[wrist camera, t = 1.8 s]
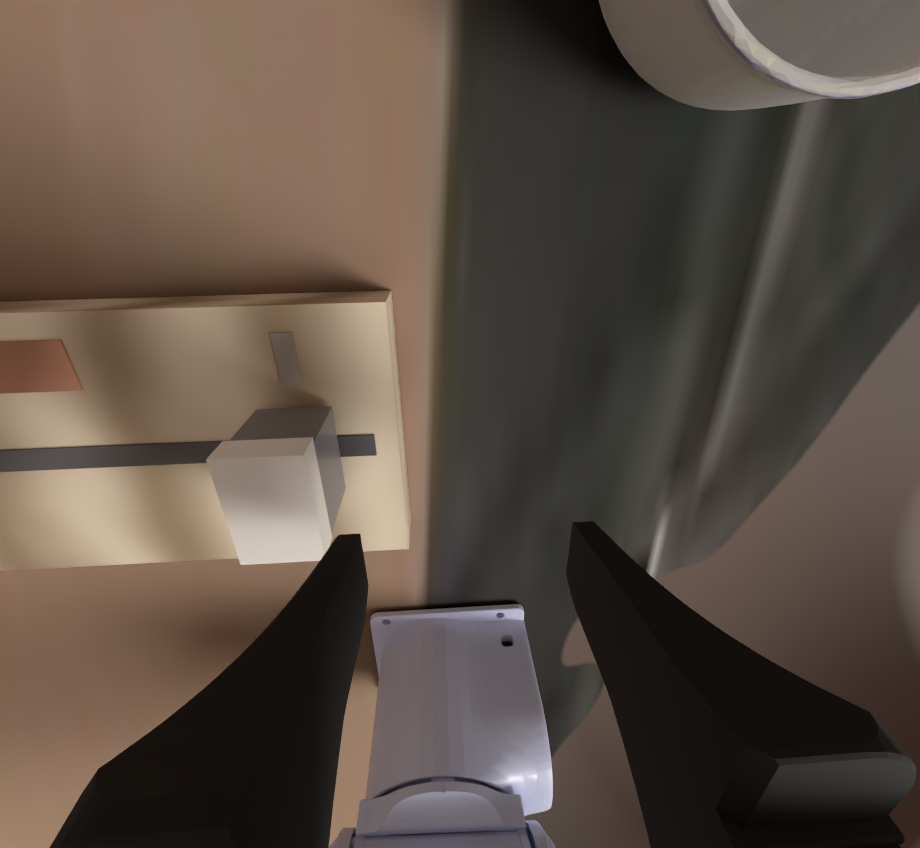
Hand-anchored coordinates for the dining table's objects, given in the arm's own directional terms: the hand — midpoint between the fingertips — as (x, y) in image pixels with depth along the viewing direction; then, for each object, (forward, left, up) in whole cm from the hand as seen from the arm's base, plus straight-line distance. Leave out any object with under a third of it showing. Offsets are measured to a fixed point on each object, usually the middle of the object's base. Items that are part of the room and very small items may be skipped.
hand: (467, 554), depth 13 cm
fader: (+7, 0, -7) cm, 9 cm away
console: (+13, 0, -9) cm, 16 cm away
